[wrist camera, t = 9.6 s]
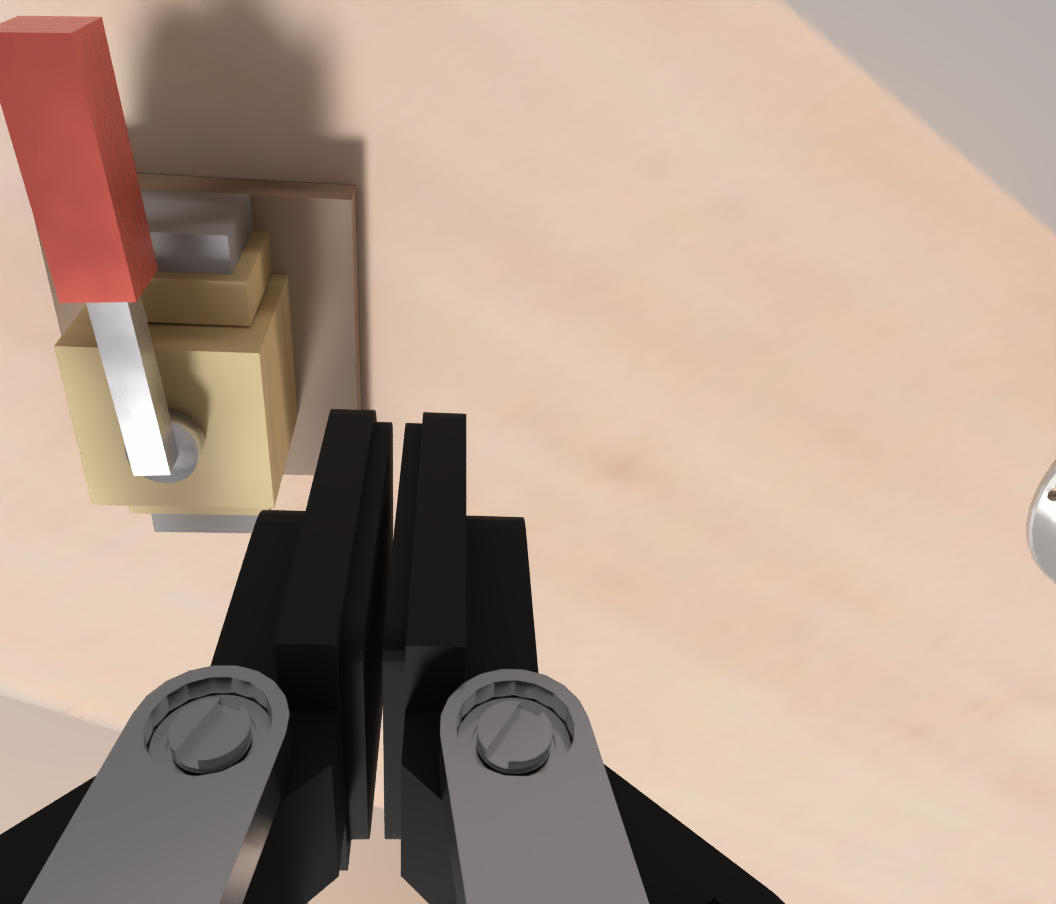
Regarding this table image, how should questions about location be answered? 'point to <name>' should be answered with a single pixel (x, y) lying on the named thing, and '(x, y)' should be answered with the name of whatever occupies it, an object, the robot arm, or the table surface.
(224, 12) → the table surface
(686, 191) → the table surface
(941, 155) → the table surface
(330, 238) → the valve block
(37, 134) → the valve lever
